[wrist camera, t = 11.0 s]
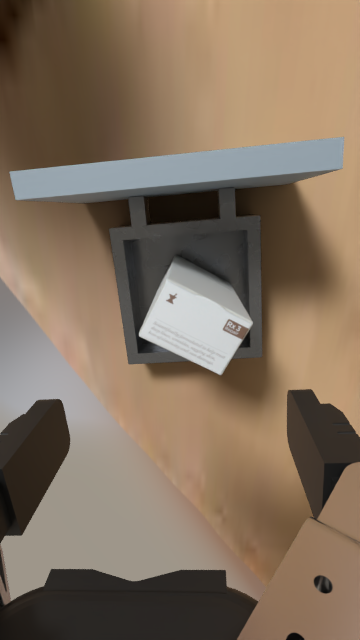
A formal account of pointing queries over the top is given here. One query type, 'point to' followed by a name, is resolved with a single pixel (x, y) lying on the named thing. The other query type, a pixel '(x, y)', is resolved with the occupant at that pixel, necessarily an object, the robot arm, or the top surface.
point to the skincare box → (196, 316)
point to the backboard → (180, 173)
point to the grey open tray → (196, 247)
